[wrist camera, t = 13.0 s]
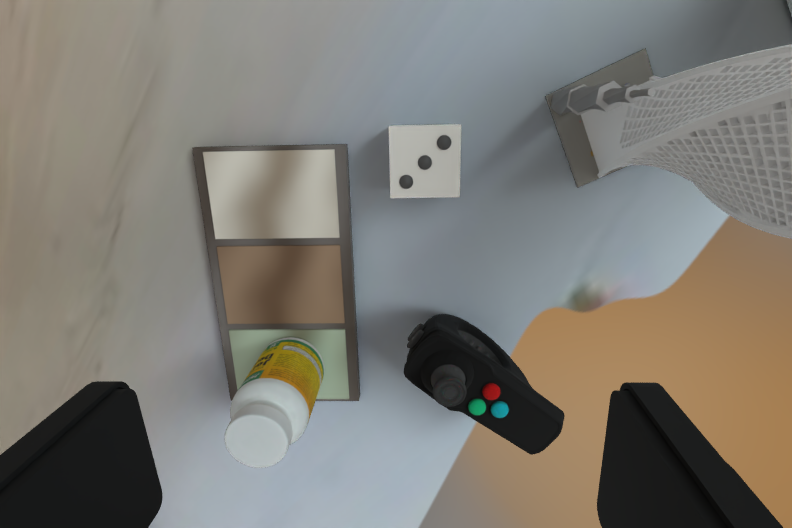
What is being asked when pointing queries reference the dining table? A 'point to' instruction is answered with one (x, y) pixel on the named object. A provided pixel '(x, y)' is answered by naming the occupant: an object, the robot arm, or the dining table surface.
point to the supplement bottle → (274, 402)
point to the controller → (480, 382)
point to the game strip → (282, 255)
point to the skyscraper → (690, 129)
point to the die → (425, 160)
